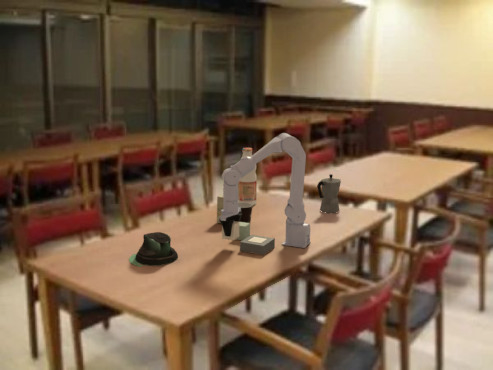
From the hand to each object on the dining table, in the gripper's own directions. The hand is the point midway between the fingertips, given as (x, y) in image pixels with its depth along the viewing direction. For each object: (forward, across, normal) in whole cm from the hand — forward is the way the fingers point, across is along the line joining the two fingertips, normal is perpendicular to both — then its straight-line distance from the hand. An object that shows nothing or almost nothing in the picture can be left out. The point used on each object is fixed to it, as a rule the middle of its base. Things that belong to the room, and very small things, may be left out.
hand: (230, 233), depth 227 cm
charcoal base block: (+6, -3, +10) cm, 12 cm away
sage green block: (+6, -13, -1) cm, 14 cm away
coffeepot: (+6, -67, +20) cm, 70 cm away
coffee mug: (+6, -25, -7) cm, 27 cm away
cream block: (+2, 0, 0) cm, 2 cm away
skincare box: (+6, -30, -17) cm, 35 cm away
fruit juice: (+6, -64, -21) cm, 68 cm away
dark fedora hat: (+6, +22, -20) cm, 30 cm away
